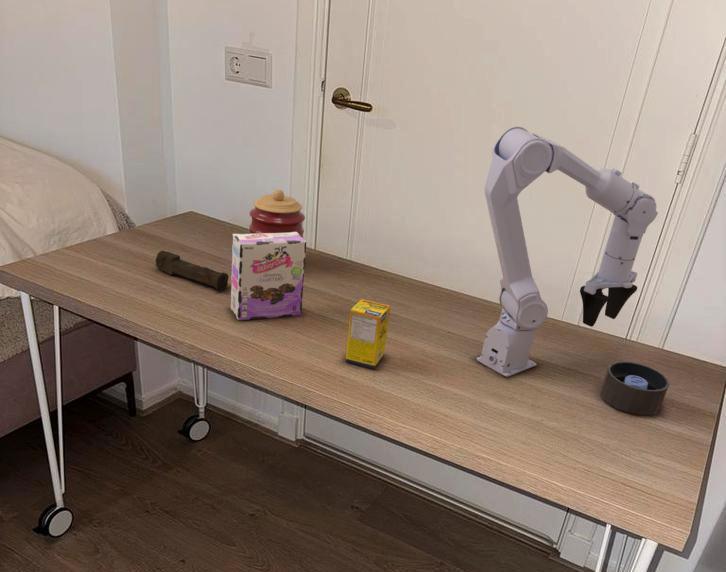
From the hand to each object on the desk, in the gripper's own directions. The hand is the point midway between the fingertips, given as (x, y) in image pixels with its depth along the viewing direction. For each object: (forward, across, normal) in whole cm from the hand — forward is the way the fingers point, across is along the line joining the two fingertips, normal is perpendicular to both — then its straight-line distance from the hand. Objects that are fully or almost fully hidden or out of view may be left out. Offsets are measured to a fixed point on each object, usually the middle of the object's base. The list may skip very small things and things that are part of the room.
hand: (599, 320), depth 141 cm
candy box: (+10, -46, +49) cm, 67 cm away
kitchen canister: (+10, -28, +72) cm, 78 cm away
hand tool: (+10, -52, +70) cm, 88 cm away
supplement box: (+10, -40, +23) cm, 47 cm away
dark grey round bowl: (+9, -6, -14) cm, 18 cm away
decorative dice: (+9, -6, -14) cm, 18 cm away
